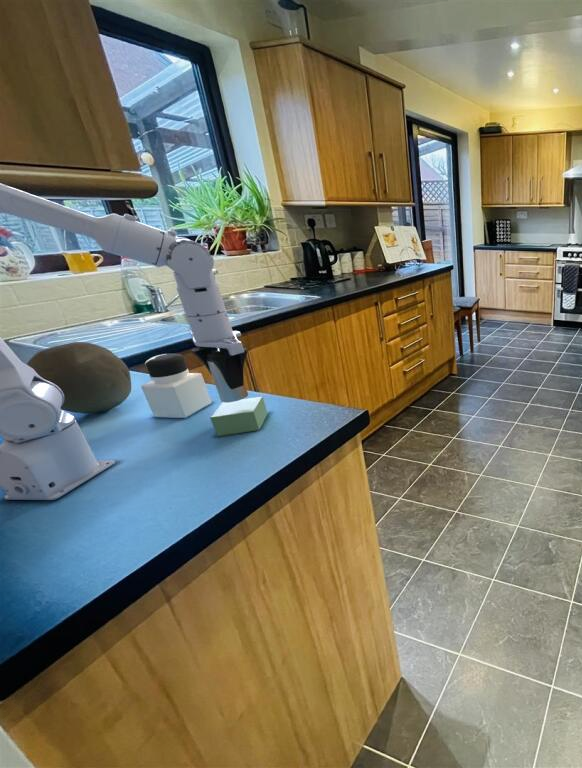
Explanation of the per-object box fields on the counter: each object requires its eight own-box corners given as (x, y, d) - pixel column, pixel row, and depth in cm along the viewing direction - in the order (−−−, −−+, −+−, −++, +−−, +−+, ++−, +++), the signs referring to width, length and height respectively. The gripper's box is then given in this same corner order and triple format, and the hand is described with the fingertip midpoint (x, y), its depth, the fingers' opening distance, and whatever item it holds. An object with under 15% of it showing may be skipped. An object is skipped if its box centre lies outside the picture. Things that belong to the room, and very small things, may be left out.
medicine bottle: (213, 403, 87) (194, 350, 82) (185, 418, 81) (163, 363, 76) (183, 402, 88) (162, 350, 83) (153, 417, 81) (129, 362, 76)
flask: (238, 402, 74) (222, 353, 70) (215, 402, 74) (197, 354, 70) (253, 392, 78) (238, 345, 74) (231, 392, 78) (215, 346, 74)
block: (259, 430, 76) (253, 411, 74) (217, 436, 74) (210, 417, 72) (267, 413, 82) (262, 396, 80) (228, 419, 80) (222, 401, 78)
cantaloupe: (107, 395, 92) (77, 332, 85) (158, 399, 89) (131, 334, 83) (29, 426, 79) (-13, 354, 73) (87, 431, 77) (48, 358, 70)
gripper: (252, 312, 68) (273, 384, 74) (212, 303, 76) (233, 370, 81) (206, 321, 63) (232, 399, 69) (167, 311, 70) (194, 382, 76)
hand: (230, 384), depth 74 cm, fingers closed on flask, 4 cm apart
